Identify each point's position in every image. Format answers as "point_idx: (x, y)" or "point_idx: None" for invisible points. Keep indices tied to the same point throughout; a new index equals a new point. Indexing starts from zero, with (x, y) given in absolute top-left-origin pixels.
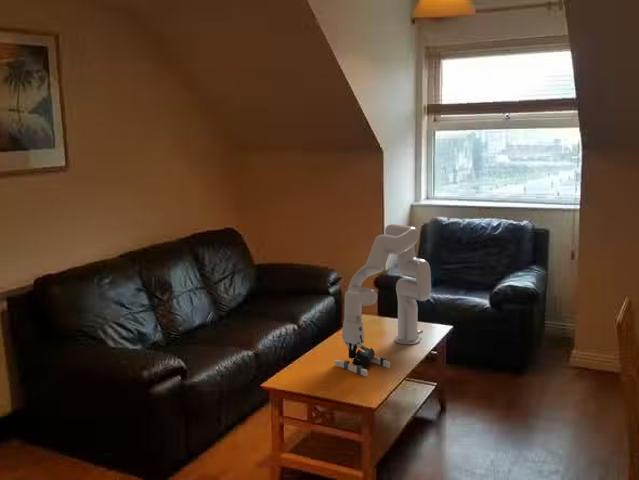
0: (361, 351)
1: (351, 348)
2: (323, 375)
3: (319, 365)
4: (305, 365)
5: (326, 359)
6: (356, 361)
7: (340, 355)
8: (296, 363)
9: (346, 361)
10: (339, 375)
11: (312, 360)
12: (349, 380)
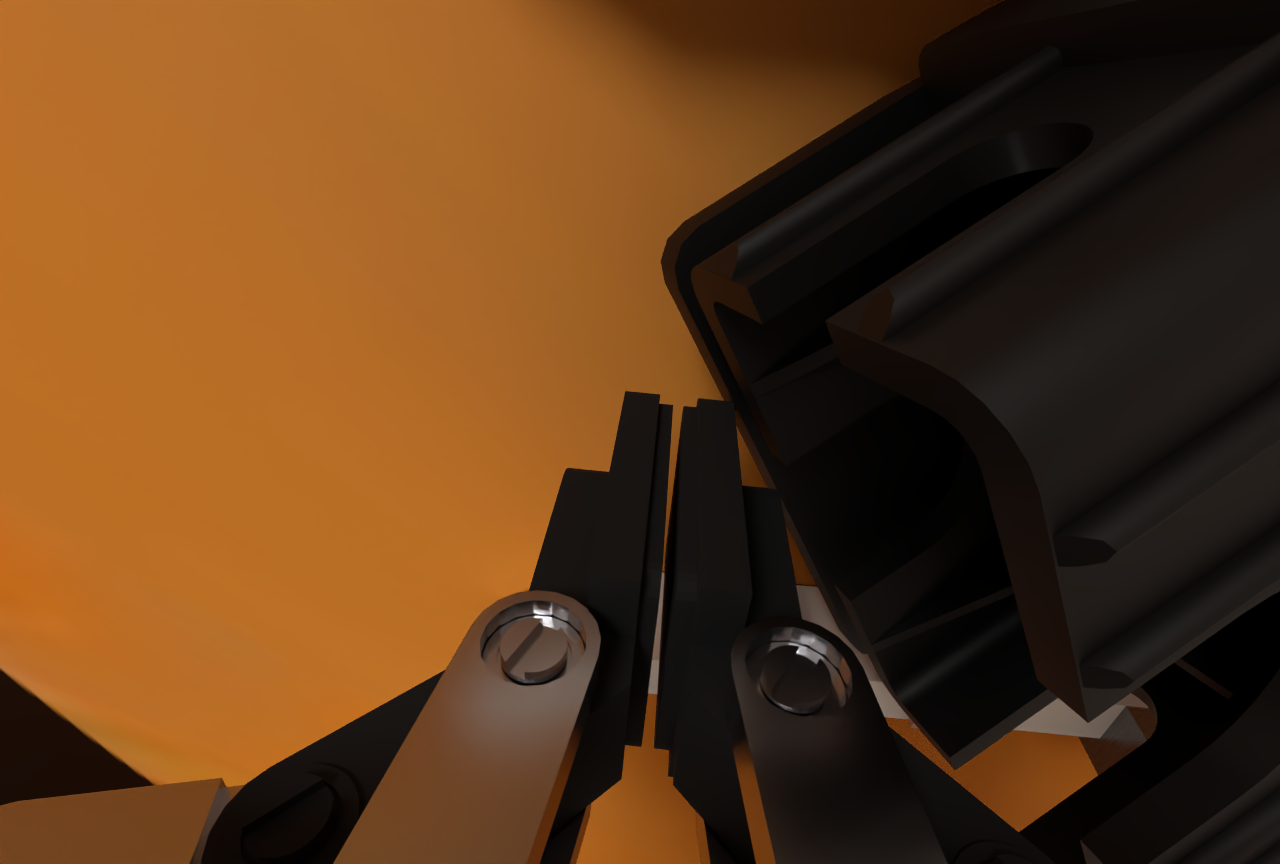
0: (1255, 831)
1: (710, 836)
2: (663, 835)
3: (356, 699)
4: (258, 764)
5: (164, 510)
6: (983, 666)
7: (34, 157)
8: (141, 770)
9: None
10: None
11: (114, 639)
12: (1043, 811)
